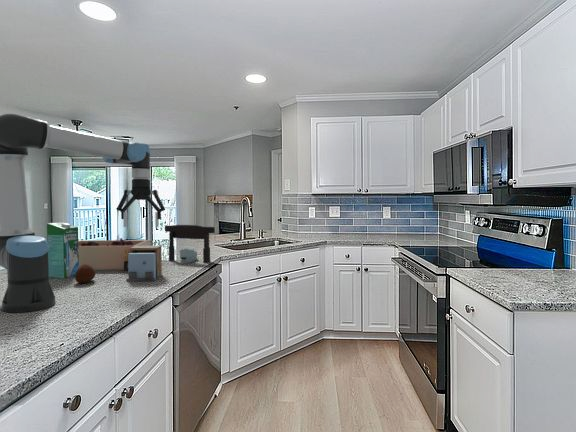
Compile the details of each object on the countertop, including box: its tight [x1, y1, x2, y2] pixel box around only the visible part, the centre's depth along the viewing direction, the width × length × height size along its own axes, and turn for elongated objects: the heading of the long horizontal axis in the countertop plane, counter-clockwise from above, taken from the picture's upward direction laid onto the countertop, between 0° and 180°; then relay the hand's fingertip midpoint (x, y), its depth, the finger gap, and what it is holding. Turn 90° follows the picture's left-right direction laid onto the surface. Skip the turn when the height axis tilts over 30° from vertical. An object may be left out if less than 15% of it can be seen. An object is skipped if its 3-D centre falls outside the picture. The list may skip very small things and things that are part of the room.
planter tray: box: [78, 239, 150, 271], centre depth 214 cm, size 27×38×12 cm
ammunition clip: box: [123, 247, 130, 272], centre depth 199 cm, size 11×2×12 cm, turn 108°
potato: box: [74, 264, 96, 284], centre depth 171 cm, size 8×12×8 cm, turn 10°
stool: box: [164, 224, 216, 264], centre depth 228 cm, size 16×21×33 cm
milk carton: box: [46, 221, 79, 279], centre depth 184 cm, size 9×9×25 cm
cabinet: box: [125, 245, 163, 282], centre depth 180 cm, size 14×12×14 cm
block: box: [127, 253, 157, 280], centre depth 176 cm, size 4×11×12 cm, turn 95°
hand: (141, 226), depth 175 cm, fingers open, 13 cm apart
